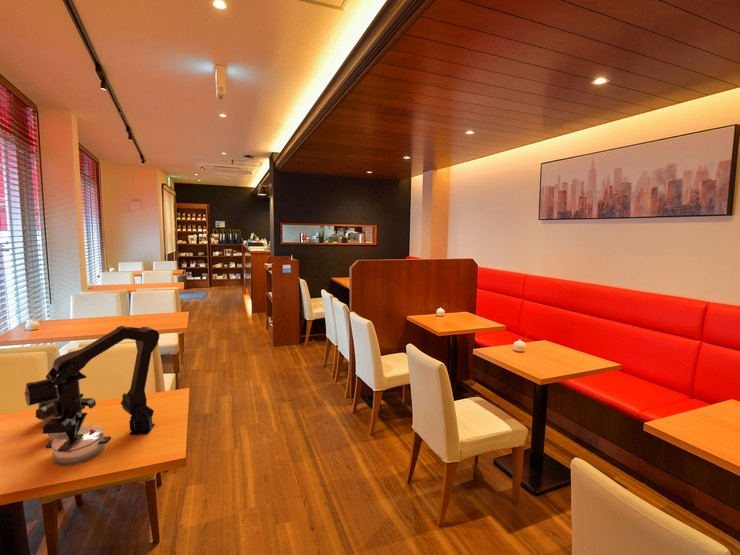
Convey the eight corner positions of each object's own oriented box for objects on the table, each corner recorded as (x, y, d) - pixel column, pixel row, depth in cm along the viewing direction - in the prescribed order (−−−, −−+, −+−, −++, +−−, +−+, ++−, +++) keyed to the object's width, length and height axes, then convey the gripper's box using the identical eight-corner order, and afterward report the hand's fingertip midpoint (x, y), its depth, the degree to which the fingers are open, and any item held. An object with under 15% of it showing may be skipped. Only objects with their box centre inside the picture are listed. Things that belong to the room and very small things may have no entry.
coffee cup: (57, 444, 134) (52, 404, 132) (38, 441, 136) (33, 402, 133) (80, 431, 142) (75, 393, 140) (61, 428, 144) (56, 391, 142)
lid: (111, 426, 137) (110, 421, 136) (88, 451, 122) (87, 446, 122) (68, 429, 134) (67, 424, 134) (39, 455, 120) (38, 450, 119)
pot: (119, 438, 138) (118, 426, 137) (99, 463, 124) (97, 449, 123) (62, 443, 135) (61, 430, 134) (35, 468, 121) (33, 454, 120)
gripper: (59, 383, 132) (63, 425, 134) (19, 409, 113) (25, 457, 115) (94, 382, 133) (98, 423, 136) (61, 407, 115) (66, 454, 117)
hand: (73, 438), depth 126 cm, fingers closed, pressing on lid
